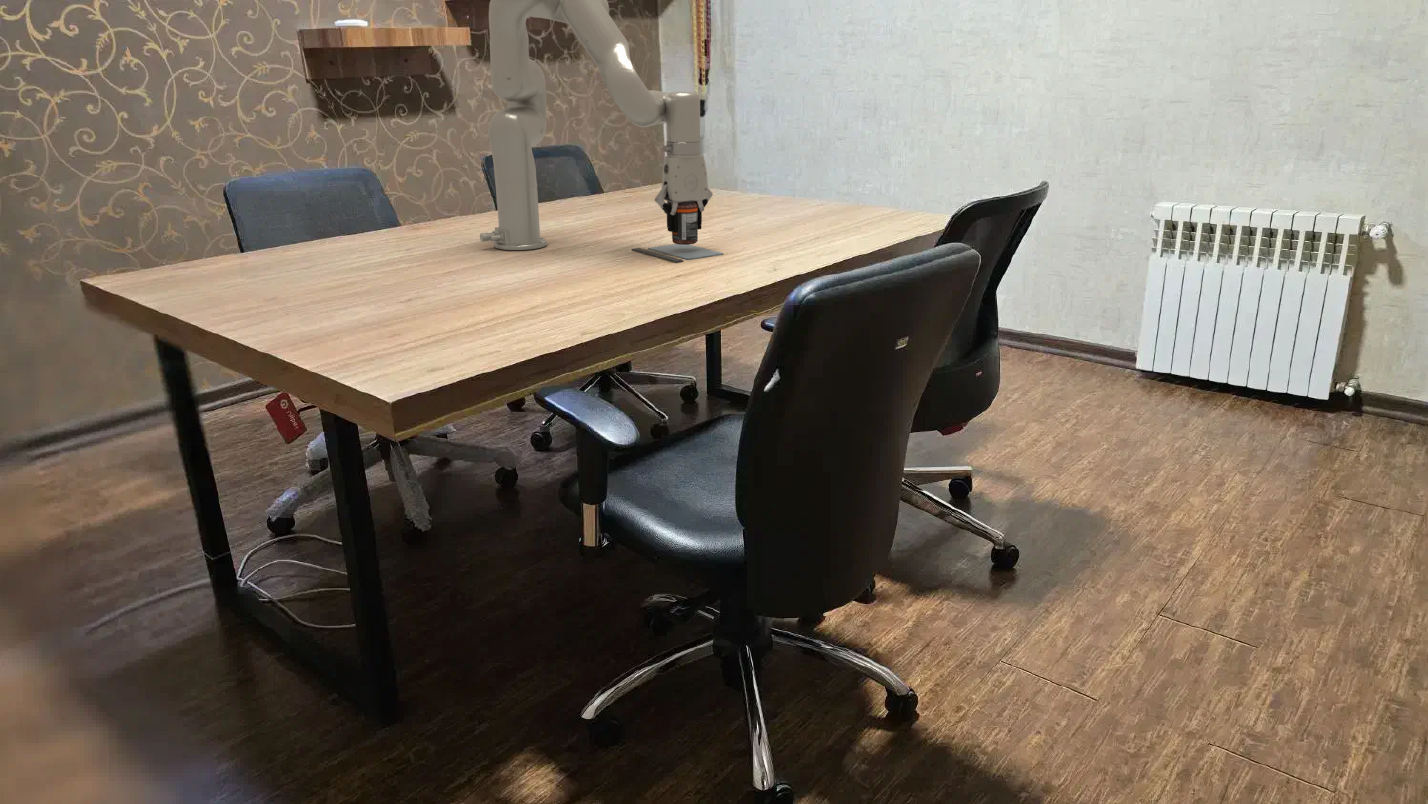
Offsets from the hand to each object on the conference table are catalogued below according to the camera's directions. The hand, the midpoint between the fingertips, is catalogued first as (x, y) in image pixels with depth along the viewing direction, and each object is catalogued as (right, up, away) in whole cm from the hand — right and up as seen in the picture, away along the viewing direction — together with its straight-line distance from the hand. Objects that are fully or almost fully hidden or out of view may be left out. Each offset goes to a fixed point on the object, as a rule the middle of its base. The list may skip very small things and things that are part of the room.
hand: (684, 229), depth 222 cm
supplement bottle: (0, -3, +1) cm, 3 cm away
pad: (0, -5, +2) cm, 5 cm away
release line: (-6, -7, -3) cm, 9 cm away
